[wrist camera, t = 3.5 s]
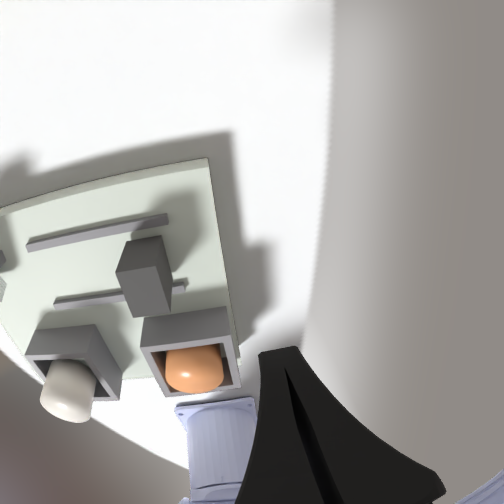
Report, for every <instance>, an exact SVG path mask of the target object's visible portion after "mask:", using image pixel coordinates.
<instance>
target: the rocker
mask: <svg viewBox="0 0 504 504" xmlns="http://www.w3.org/2000/svg"><path fill="white" fill-rule="evenodd" d="M6 286H7V283H6V282H5V281H4V280H3V279H2V278H1V276H0V302H2V300H3V296H4V292H5V289H6Z"/></svg>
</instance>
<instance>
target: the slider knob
mask: <svg viewBox="0 0 504 504" xmlns="http://www.w3.org/2000/svg"><path fill="white" fill-rule="evenodd" d="M115 274H116V277H117V279H118V282H119V285H120V287H121V290H122V292H123V295H124V297H125V300H126V302H127V305H128V307H129V309H130V312H131V314H132V317H133V318H137V317H145V316H152V315H160V314H167V313H171V299H172V285H173V276H172V273H171V269H170V265H169V262H168V258H167V254H166V250H165V246H164V243H163V239H162V235H158V236H153V237H147V238H141V239H136V240H130V241H126V243H125V246H124V249H123V252H122V254H121V257H120V260H119V263H118V265H117V268H116V271H115Z"/></svg>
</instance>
